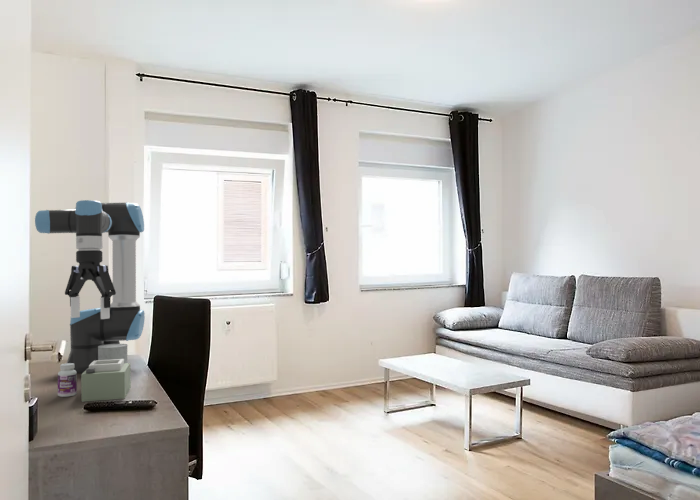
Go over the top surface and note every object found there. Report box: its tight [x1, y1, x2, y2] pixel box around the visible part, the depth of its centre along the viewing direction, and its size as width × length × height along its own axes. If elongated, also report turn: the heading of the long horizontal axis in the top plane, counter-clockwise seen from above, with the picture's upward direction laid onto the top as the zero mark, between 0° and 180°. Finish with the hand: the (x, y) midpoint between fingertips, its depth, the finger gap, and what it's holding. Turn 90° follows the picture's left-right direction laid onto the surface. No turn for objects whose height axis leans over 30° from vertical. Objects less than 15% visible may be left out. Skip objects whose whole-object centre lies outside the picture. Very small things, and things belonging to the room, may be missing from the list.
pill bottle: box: [57, 362, 78, 398], centre depth 181 cm, size 5×5×10 cm
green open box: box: [80, 359, 132, 403], centre depth 182 cm, size 16×12×10 cm
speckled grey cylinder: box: [98, 343, 129, 363], centre depth 202 cm, size 10×10×12 cm
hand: (90, 318), depth 182 cm, fingers open, 13 cm apart
